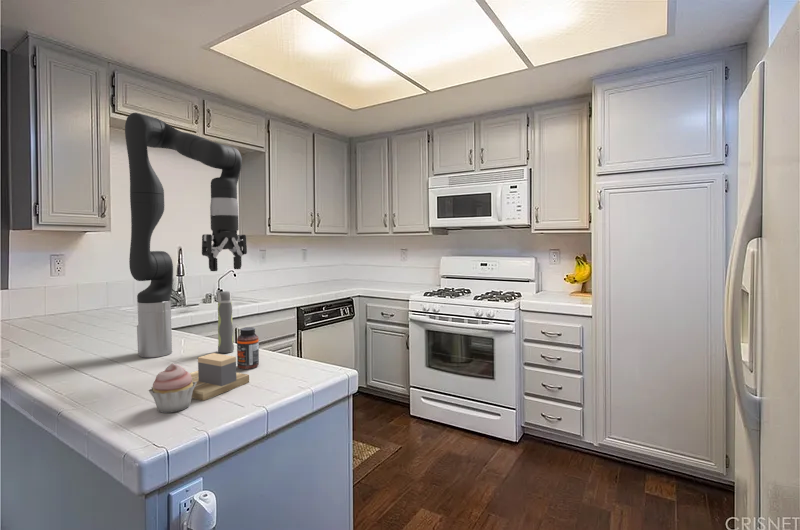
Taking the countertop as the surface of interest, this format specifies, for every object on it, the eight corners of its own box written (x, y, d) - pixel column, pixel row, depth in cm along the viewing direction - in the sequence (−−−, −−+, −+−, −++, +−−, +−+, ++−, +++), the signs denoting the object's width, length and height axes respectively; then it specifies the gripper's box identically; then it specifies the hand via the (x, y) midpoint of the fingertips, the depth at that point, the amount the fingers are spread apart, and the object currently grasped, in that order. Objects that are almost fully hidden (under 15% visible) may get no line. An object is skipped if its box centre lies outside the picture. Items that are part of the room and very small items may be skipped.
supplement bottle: (232, 368, 122) (231, 329, 122) (248, 362, 128) (248, 325, 127) (247, 370, 120) (246, 331, 119) (263, 365, 125) (262, 327, 124)
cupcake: (140, 417, 89) (138, 370, 88) (162, 400, 98) (161, 357, 97) (186, 416, 89) (184, 369, 88) (204, 399, 98) (203, 357, 98)
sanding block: (198, 381, 105) (197, 357, 104) (213, 376, 109) (213, 353, 108) (221, 386, 101) (221, 361, 101) (236, 380, 105) (235, 356, 105)
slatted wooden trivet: (160, 390, 104) (160, 382, 104) (208, 374, 117) (208, 367, 116) (203, 400, 97) (203, 392, 97) (249, 382, 110) (249, 374, 110)
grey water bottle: (232, 349, 143) (230, 290, 142) (235, 352, 139) (233, 291, 138) (216, 351, 141) (215, 291, 139) (219, 354, 137) (217, 292, 135)
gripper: (234, 216, 131) (235, 268, 132) (194, 213, 118) (195, 271, 119) (252, 215, 128) (253, 269, 129) (213, 212, 115) (214, 272, 116)
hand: (225, 270), depth 124 cm, fingers open, 8 cm apart
